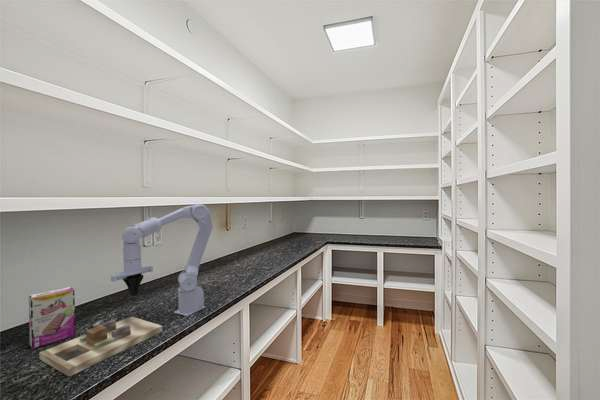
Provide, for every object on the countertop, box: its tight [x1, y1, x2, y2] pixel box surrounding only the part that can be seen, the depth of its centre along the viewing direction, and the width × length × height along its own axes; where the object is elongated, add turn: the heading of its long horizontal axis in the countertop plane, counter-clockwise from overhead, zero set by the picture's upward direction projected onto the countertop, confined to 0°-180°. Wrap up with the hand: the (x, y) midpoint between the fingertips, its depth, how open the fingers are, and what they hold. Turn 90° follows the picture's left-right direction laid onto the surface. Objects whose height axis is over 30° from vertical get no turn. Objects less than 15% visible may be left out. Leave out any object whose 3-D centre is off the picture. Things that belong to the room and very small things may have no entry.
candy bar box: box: [28, 286, 76, 350], centre depth 93 cm, size 11×5×16 cm, turn 141°
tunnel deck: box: [38, 316, 163, 377], centre depth 90 cm, size 27×18×5 cm, turn 151°
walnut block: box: [85, 324, 107, 346], centre depth 88 cm, size 4×4×4 cm
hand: (133, 295), depth 105 cm, fingers closed
